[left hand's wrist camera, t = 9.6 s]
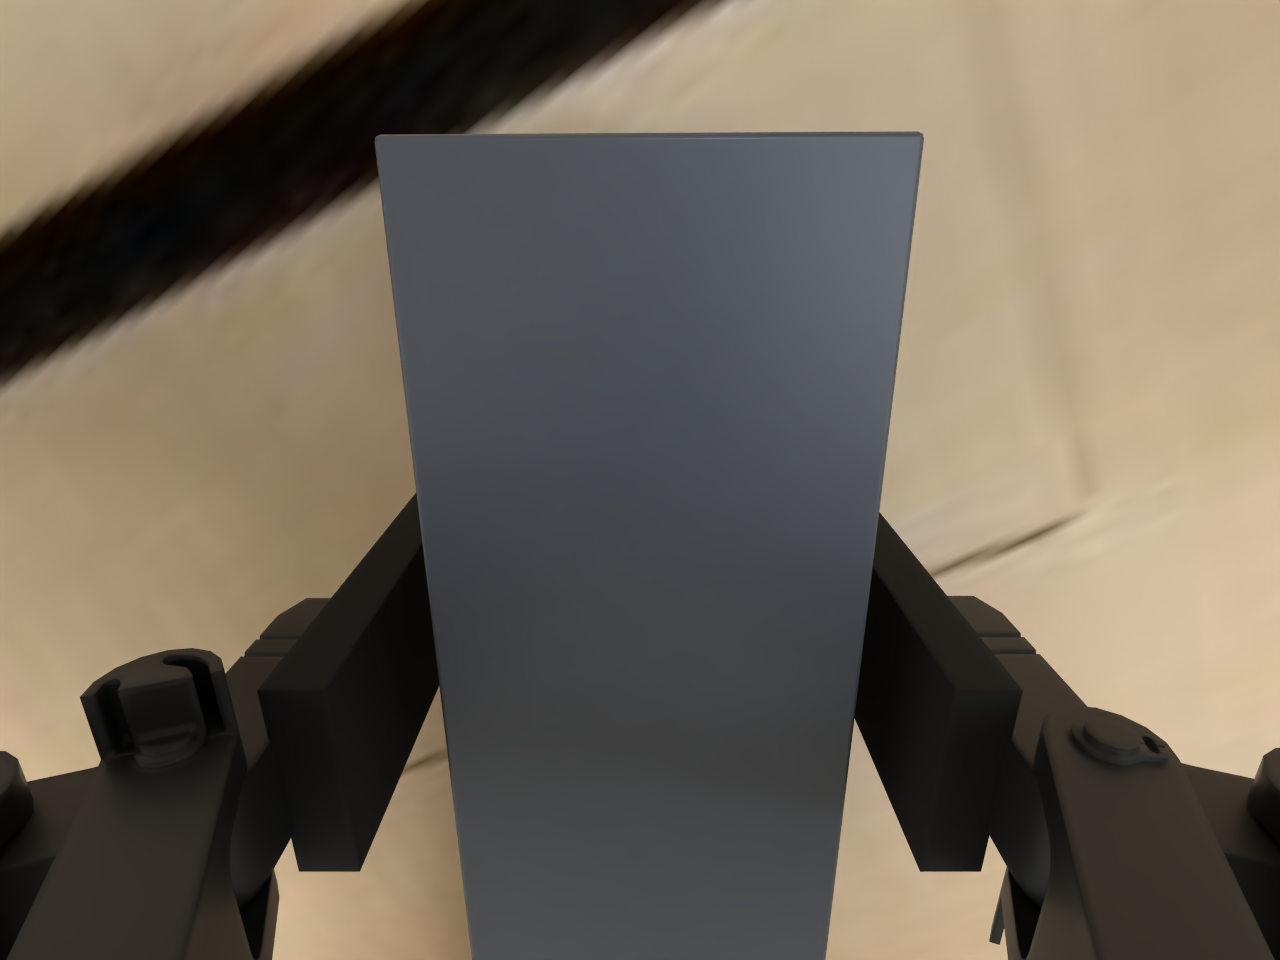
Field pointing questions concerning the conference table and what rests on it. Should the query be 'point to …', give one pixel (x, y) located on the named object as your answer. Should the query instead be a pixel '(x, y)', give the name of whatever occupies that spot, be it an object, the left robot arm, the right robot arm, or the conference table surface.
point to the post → (649, 516)
